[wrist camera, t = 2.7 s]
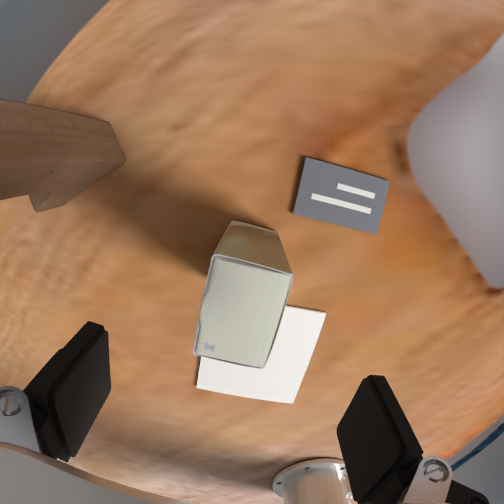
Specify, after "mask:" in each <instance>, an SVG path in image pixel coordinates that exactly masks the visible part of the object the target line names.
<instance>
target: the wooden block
mask: <svg viewBox="0 0 504 504" xmlns="http://www.w3.org/2000/svg"><path fill="white" fill-rule="evenodd" d="M125 161H126V160H125V156H124V154H123V152H122V150H121V147H120V145H119V143H118V141H117V138H116V136H115V134H114V132H113V129H112V127H111V124H110V123H109V122H106V121H102V120H98V119H94V118H90V117H86V116H82V115H78V114H74V113H70V112H65V111H61V110H56V109H52V108H47V107H42V106H37V105H32V104H27V103H22V102H16V101H10V100H4V99H0V200H4V199H8V198H13V197H18V196H23V195H29V197H30V200H31V202H32V205H33V207H34V210H35V211H36V212H41V211H45V210H49V209H52V208H56V207H60V206H62V205H64V204H65V203H66V202H68V201H69V200H70V199H72V198H73V197H75V196H76V195H77V194H79V193H80V192H82V191H83V190H84V189H86V188H87V187H89V186H90V185H92V184H93V183H94V182H96V181H97V180H99V179H100V178H102V177H103V176H105V175H106V174H108V173H109V172H111V171H112V170H114V169H116V168H117V167H119V166H120V165H122V164H123V163H124V162H125Z"/></svg>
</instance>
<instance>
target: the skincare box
mask: <svg viewBox="0 0 504 504" xmlns="http://www.w3.org/2000/svg"><path fill="white" fill-rule="evenodd" d="M292 280H293V273H292V271H291V268H290V265H289V262H288V259H287V257H286V254H285V251H284V249H283V246H282V243H281V241H280V238H279V235H278V232H276V231H273V230H270V229H266V228H262V227H259V226H255V225H251V224H247V223H243V222H239V221H235V220H233V221H231V222H230V224H229V226H228V228H227V230H226V231H225V233H224V235H223V237H222V239H221V240H220V242H219V244H218V246H217V248H216V250H215V251H214V253H213V255H212V257H211V262H210V266H209V271H208V275H207V280H206V285H205V289H204V294H203V299H202V304H201V309H200V315H199V320H198V325H197V331H196V336H195V342H194V347H193V354H194V355H197V356H202V357H206V358H209V359H213V360H217V361H222V362H226V363H230V364H235V365H240V366H245V367H252V368H257V369H264V368H265V366H266V363H267V361H268V358H269V356H270V354H271V351H272V348H273V345H274V343H275V339H276V336H277V333H278V330H279V327H280V324H281V320H282V317H283V314H284V310H285V307H286V303H287V299H288V295H289V292H290V288H291V284H292Z"/></svg>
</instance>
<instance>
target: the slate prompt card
mask: <svg viewBox="0 0 504 504" xmlns="http://www.w3.org/2000/svg"><path fill="white" fill-rule="evenodd" d="M389 184H390V181H387V180H383V179H380V178H377V177H374V176H371V175H368V174H364V173H361V172H358V171H354V170H351V169H347V168H344V167H340V166H337V165H333V164H330V163H326V162H322V161H318V160H314V159H311V158H307V157H306V158H305V162H304V166H303V170H302V175H301V179H300V184H299V188H298V192H297V197H296V201H295V205H294V210H293V214H294V215H299V216H303V217H307V218H312V219H316V220H320V221H324V222H328V223H333V224H337V225H341V226H345V227H349V228H353V229H357V230H361V231H365V232H369V233H373V234H376V235H377V232H378V228H379V224H380V220H381V217H382V213H383V209H384V205H385V201H386V197H387V193H388V188H389Z"/></svg>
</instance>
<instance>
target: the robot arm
mask: <svg viewBox="0 0 504 504" xmlns="http://www.w3.org/2000/svg"><path fill="white" fill-rule="evenodd" d="M110 390H111V378H110V364H109V342H108V331H106V330H104V326H103V325H100V324H97V323H94V322H90V321H88V322H87V323H86V324H85V325H84V326H83V327H82V328H81V329H80V330H79V331H78V332H77V334H76V335H75V336H74V337H73V338H72V339H71V340H70V341H69V342H68V343H67V344H66V346H65V347H64V348H62V349H60V350H58V351H57V352H56V354H55V355H54V356H53V357H52V358H51V359H50V360H49V361H48V362H47V364H46V365H45V366H44V367H43V368H42V369H41V370H40V372H39V373H38V374H37V375H36V376H35V377H34V378H33V380H32V381H31V382H30V383H29V384H28V385H27V387H26V388H25V389H24V390H23V391H22V390H20V389H19V388H16V387H13V386H5V387H0V504H198V503H193V502H188V501H183V500H178V499H173V498H169V497H165V496H160V495H156V494H153V493H149V492H145V491H142V490H138V489H135V488H131V487H128V486H125V485H122V484H119V483H116V482H113V481H110V480H107V479H104V478H101V477H98V476H96V475H93V474H90V473H88V472H85V471H83V470H80V469H78V468H75V467H73V466H70V465H68V464H66V463H63V462H61V461H58V460H56V459H57V458H59V459H61V460H63V461H65V462H68V461H69V459H70V457H71V456H72V457H75V456H76V454H77V453H78V451H79V449H80V447H81V445H82V443H83V441H84V439H85V437H86V435H87V434H88V432H89V430H90V428H91V426H92V424H93V422H94V420H95V419H96V417H97V415H98V413H99V411H100V410H101V408H102V406H103V404H104V402H105V400H106V399H107V397H108V395H109V393H110ZM337 437H338V440H339V444H340V448H341V452H342V456H343V460H344V461H342V460H339V459H314V460H308V461H304V462H300V463H297V464H294V465H292V466H290V467H287V468H285V469H284V470H282V471H281V472H279V473H278V474H277V475H276V476H275V478H274V479H273V490H274V492H275V493H276V494H277V495H278V496H280V497H282V498H284V504H351V503H350V499H354V501H357V503H358V504H489V501H488V499H487V498H486V497H485V496H484V495H483V494H481V493H479V492H477V491H475V490H473V489H470V488H468V487H466V486H464V485H462V484H460V483H457V482H455V481H453V480H452V469H451V467H450V465H449V464H448V463H447V462H446V461H445V460H443V459H441V458H439V457H436V456H429V457H425V458H424V459H423V457H422V454H423V453H424V452H423V450H422V448H421V446H420V444H419V442H418V440H417V438H416V436H415V434H414V432H413V430H412V428H411V426H410V424H409V422H408V420H407V418H406V416H405V414H404V412H403V410H402V409H401V407H400V405H399V403H398V401H397V399H396V397H395V395H394V393H393V391H392V389H391V388H390V386H389V384H388V382H387V380H386V378H385V377H384V376H379V375H369V376H368V377H367V378H365V379H363V380H362V382H361V384H360V386H359V388H358V390H357V392H356V394H355V396H354V397H353V399H352V401H351V403H350V405H349V407H348V409H347V410H346V412H345V414H344V416H343V417H342V419H341V421H340V423H339V424H338V427H337Z"/></svg>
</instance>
